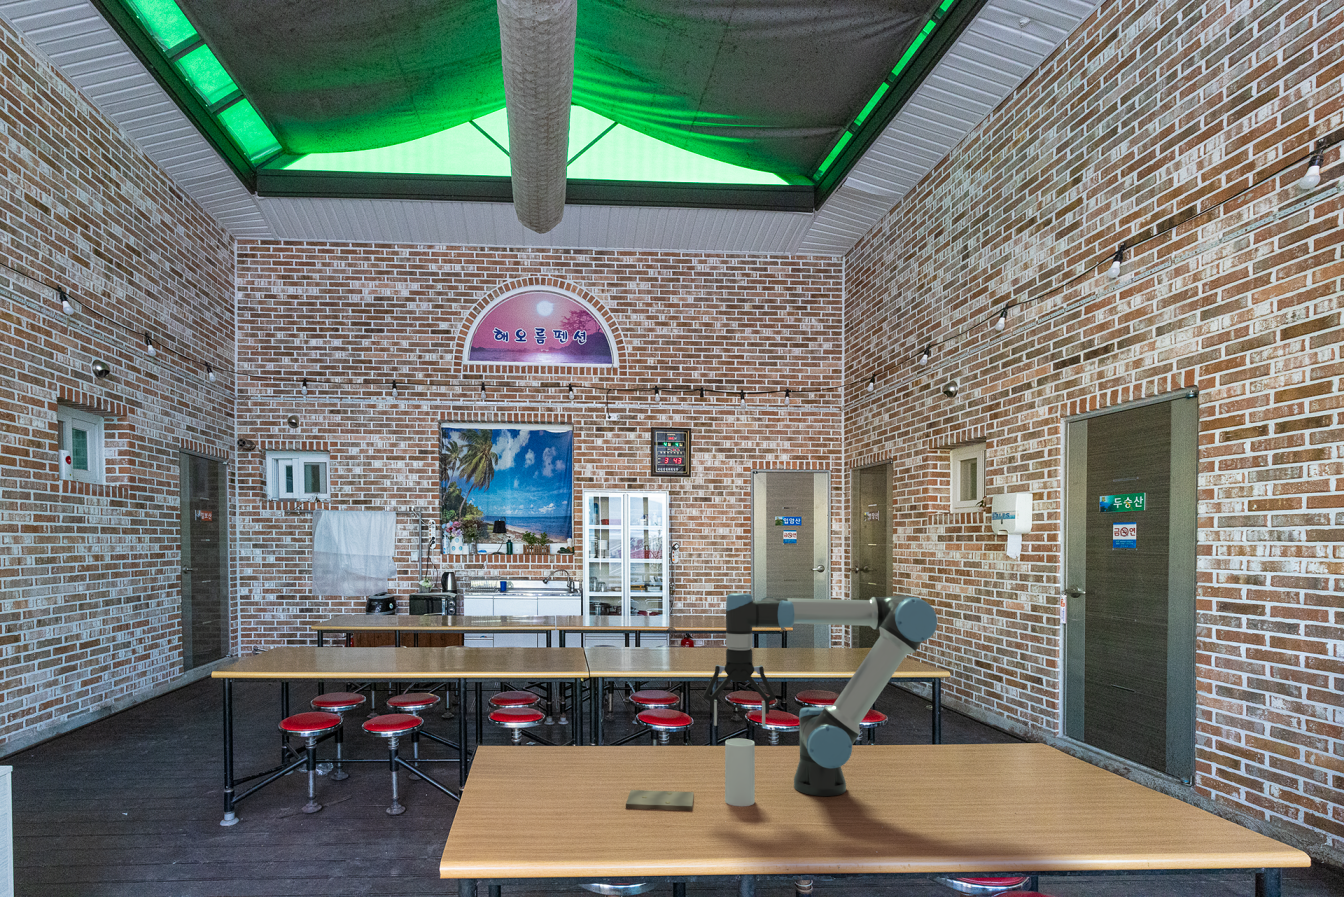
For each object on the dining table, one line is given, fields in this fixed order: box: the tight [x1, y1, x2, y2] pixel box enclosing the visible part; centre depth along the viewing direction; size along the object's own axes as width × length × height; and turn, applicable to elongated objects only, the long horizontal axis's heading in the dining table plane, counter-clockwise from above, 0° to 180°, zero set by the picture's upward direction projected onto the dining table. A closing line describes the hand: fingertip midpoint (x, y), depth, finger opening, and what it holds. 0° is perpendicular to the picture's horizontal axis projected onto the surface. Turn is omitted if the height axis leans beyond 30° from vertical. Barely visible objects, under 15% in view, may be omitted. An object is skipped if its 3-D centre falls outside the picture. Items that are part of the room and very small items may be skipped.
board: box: [625, 789, 695, 812], centre depth 213 cm, size 18×12×1 cm, turn 87°
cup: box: [724, 737, 756, 807], centre depth 215 cm, size 8×8×16 cm
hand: (739, 725), depth 217 cm, fingers open, 13 cm apart
